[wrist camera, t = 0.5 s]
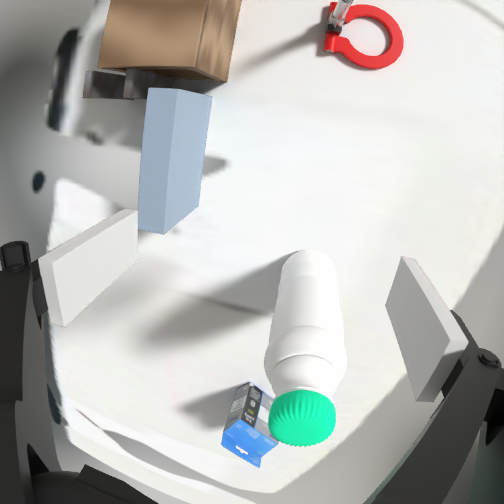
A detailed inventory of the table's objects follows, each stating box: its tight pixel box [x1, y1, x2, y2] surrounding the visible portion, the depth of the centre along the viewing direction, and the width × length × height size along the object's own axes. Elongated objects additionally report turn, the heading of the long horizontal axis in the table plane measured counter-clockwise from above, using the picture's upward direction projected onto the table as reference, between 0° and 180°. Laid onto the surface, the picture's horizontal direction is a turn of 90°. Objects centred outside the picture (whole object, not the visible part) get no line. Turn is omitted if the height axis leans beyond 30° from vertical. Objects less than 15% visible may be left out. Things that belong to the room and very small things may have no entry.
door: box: [138, 88, 212, 235], centre depth 33 cm, size 14×3×11 cm, turn 171°
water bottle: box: [264, 250, 347, 446], centre depth 31 cm, size 7×7×25 cm
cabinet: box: [83, 0, 242, 100], centre depth 27 cm, size 17×13×12 cm
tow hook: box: [324, 0, 403, 69], centre depth 24 cm, size 8×13×9 cm
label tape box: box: [221, 382, 279, 468], centre depth 47 cm, size 9×4×12 cm, turn 45°
